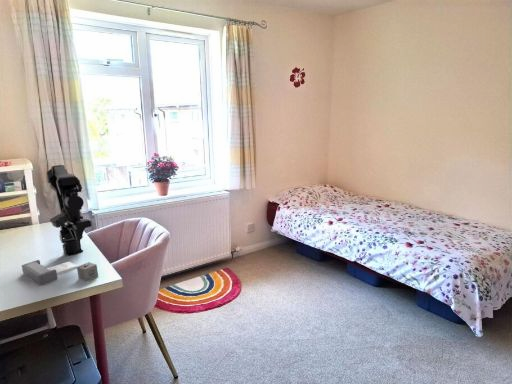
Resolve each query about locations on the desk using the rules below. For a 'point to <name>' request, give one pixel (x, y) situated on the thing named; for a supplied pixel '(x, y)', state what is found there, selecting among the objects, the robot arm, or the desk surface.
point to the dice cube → (87, 271)
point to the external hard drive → (63, 267)
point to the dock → (39, 273)
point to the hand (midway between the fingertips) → (77, 240)
